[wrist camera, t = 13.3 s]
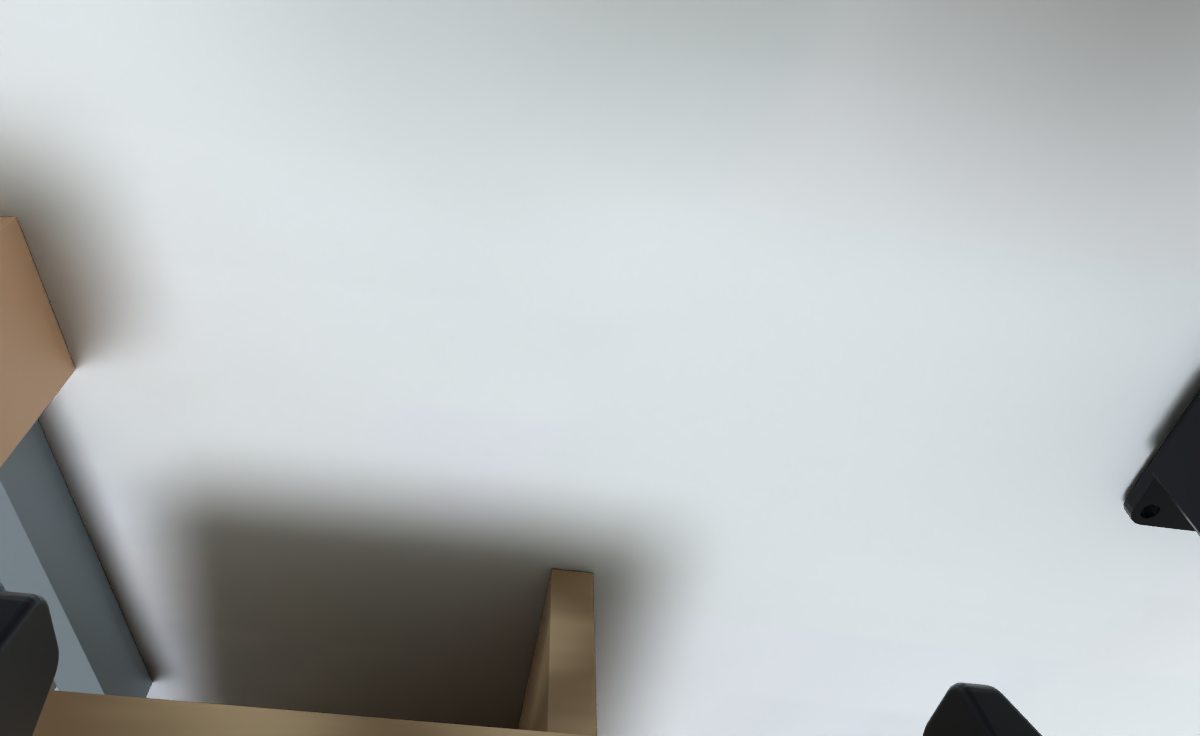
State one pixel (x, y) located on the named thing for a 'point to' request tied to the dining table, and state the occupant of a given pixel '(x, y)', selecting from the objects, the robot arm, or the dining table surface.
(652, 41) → the dining table surface
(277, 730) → the shelf
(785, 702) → the dining table surface
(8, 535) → the toy hammer
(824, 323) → the dining table surface
